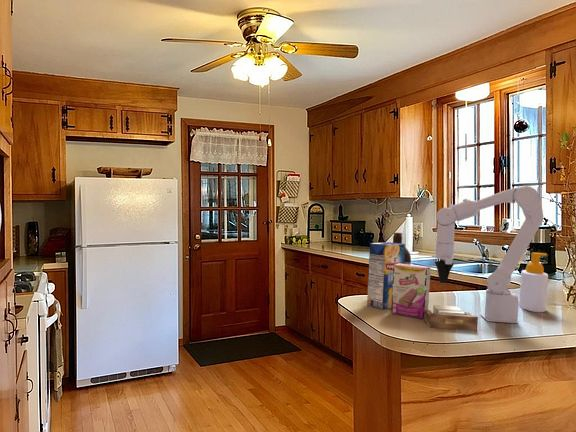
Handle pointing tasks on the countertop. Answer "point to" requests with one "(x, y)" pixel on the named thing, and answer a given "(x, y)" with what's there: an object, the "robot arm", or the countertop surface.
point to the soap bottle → (534, 285)
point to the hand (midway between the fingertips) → (442, 282)
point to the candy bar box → (410, 290)
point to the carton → (447, 310)
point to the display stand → (451, 321)
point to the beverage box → (383, 272)
